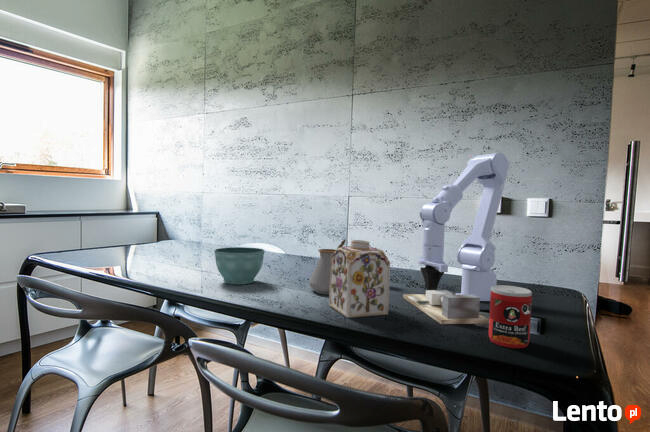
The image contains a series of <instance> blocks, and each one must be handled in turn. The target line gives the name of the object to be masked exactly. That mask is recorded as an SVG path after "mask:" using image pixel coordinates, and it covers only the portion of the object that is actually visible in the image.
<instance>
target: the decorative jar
mask: <svg viewBox="0 0 650 432" xmlns="http://www.w3.org/2000/svg"><path fill="white" fill-rule="evenodd" d="M337 248H338V247H337ZM337 248H336V249H335V250H336V251H335V253H333V255H332V257H331V271H330V293H329V294H328V295H329V299H328V300H329V301H328V302H329V303H328V305H329V306H330V307H331V308H333V309H334V310H335V311H336V312H338V313H340V314H341V315H343V316H344V317H345V318H349V319H350V318H351V319H352V318H362V317H372V316H384V315H386V316H387V315H389V307H390V306H389V302H390V281H391V280H390V278H391V273H390V272H391V262H390V260H389V258H388V256H386V255H387V254H386V253H385V252H384V250H383V249H380V248H376V247H372V246H370V241H368V240H362V239H361V240H359V239H352V240H351V242H350V246H349V245H348V246H347V245H344V246H342V247H340V248H338V249H337Z"/></svg>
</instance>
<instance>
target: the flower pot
mask: <svg viewBox="0 0 650 432" xmlns="http://www.w3.org/2000/svg"><path fill="white" fill-rule="evenodd" d="M213 252H214V258H215V264H216V268H217V270H218V272H219V274H220V275H221V277H222V279H223V281H224V284H227V285H238V286H239V285H248V284H252V283H254V282H255V278H256V276H257V275H258V274H259V273H260V271H261V268H262V267H263V266H262V265H263V263H264V257H265V256H264V254H265V252H266V251H265V249H264V248H259V247H246V246H245V247H237V246H236V247H220V248H216V249H214V251H213Z"/></svg>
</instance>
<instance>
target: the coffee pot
mask: <svg viewBox="0 0 650 432" xmlns="http://www.w3.org/2000/svg"><path fill="white" fill-rule="evenodd" d="M346 242H347V243H349V242H348V240H346V239H343V240H342V241H341V242H340V244H339V245H338V246H337V248H336V249H335V248H334V249H333V248H331V249H330V248H321V249H318V250H317V251H318V252H319V256H320V257H319V258H318V261H317V263H316V265H315V267H314V270H313V271H312V272H313V273H311V274H312V275H311V276H310V279H309V280H308V281H309V282H308V283H309V286H310V288H311V289H312V290H314V292H315V293H317V294H320V295H329V293H330V271H331V257H332V255H333V253H335V251H336V250H337V249H338V248H340V247H344V246H346V244H345V243H346Z"/></svg>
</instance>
